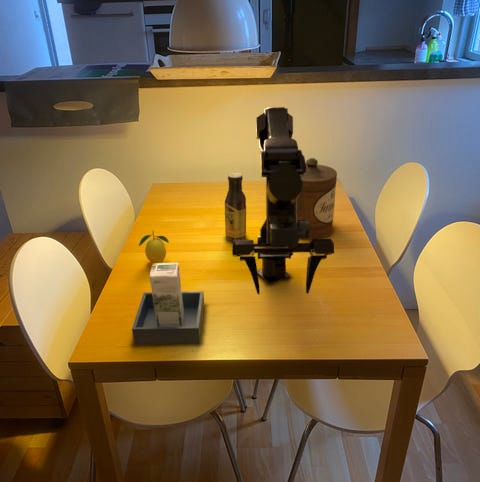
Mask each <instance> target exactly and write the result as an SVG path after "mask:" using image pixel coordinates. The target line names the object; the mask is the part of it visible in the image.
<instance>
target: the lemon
mask: <svg viewBox="0 0 480 482" xmlns="http://www.w3.org/2000/svg"><path fill="white" fill-rule="evenodd" d="M151 236H152V238H151ZM150 238H151V239H150ZM148 239H149V240H148ZM147 240H148V241H147ZM146 241H147V242H146ZM145 242H146V244H145V250H144V251H145V252H144V253H145V256H146V258H147V260H148V261H149V262H151V263H162V261H164V260H165V258H166V255H167V248H166V245H165V244H164V242H165V243H170V242H169V239H168V237H166V236H165V235H155V231H154V230H152V234H147V235H144V236H143V237H142V238H141V239H140V241H139V243H138V247H140V246H142V245H143V244H144V243H145Z"/></svg>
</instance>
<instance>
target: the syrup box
mask: <svg viewBox="0 0 480 482" xmlns="http://www.w3.org/2000/svg"><path fill="white" fill-rule="evenodd" d="M149 283H150V289H151V292H152V296H153V303H154V309H155V316H156V322H157V327H182V326H183V323H184V308H183V300H182V292H183V290H182V281H181V270H180V264H179V262H159V263H155V262H152V264H151V268H150V273H149Z"/></svg>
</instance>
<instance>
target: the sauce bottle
mask: <svg viewBox="0 0 480 482" xmlns="http://www.w3.org/2000/svg"><path fill="white" fill-rule="evenodd" d="M227 180H228V188H227V189H228V191H227V193H226V196H225V199H224V229H225V231H224V232H225V238H226V239H227V241H230V242H232V243H233V242H234V241H235V240H246V237H247V236H246V235H247V197H246V194H245V193H244V192H243V174H242V173H241V172H230V173H229V174H228V175H227Z"/></svg>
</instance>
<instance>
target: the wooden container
mask: <svg viewBox="0 0 480 482" xmlns="http://www.w3.org/2000/svg"><path fill="white" fill-rule="evenodd" d="M305 162H306V173H304V175H303V176H301V179H302V184H303V185H302V190H301V192H300V194H299V196H298V198H297V223H298V220H303V219H308V220H309V229H310V232H309V239H308V240H312V239H323V238H325V237H328V236H329V235H331V233H332V231H333V224H334V215H335V203H336V190H337V187H336V186H337V179H338V171H337V170H336V169H335V168H333V167H331V166H328V165H323V164H319V162H318V159H316V158H315V157H310V158H307V160H305Z"/></svg>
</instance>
